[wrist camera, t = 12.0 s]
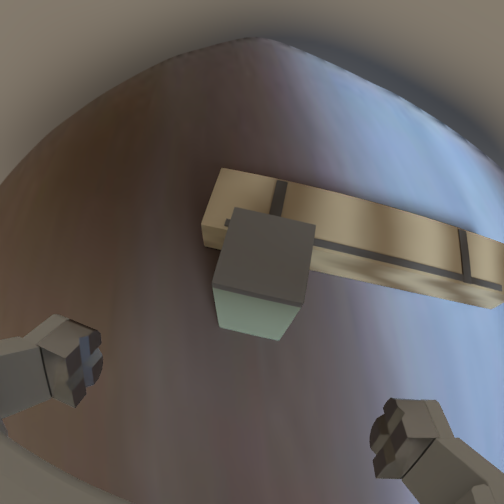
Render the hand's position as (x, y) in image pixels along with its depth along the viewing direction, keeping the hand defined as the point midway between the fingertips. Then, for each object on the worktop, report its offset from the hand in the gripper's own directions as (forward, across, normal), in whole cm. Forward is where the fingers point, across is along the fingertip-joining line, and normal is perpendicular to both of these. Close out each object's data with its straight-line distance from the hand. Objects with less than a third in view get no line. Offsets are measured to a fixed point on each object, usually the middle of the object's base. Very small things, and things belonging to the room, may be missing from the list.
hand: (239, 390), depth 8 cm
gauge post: (+13, 0, +4) cm, 14 cm away
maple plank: (+17, -8, 0) cm, 19 cm away
